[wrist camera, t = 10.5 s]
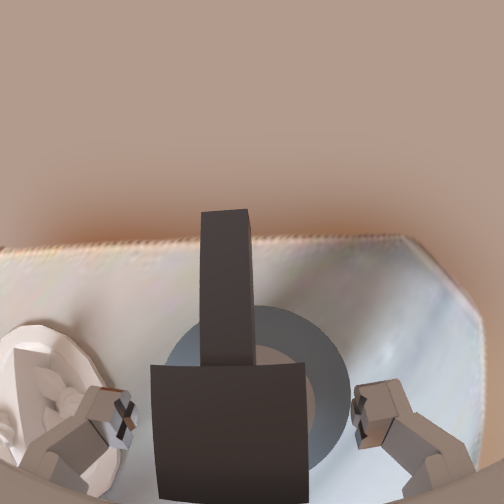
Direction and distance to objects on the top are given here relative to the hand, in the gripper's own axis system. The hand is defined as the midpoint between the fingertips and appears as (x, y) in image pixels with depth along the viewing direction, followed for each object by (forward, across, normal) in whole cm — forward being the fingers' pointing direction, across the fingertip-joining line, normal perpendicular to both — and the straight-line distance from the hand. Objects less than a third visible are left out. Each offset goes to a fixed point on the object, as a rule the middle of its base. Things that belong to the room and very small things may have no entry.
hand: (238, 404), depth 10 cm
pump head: (+3, 0, +1) cm, 4 cm away
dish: (+10, +28, +20) cm, 36 cm away
